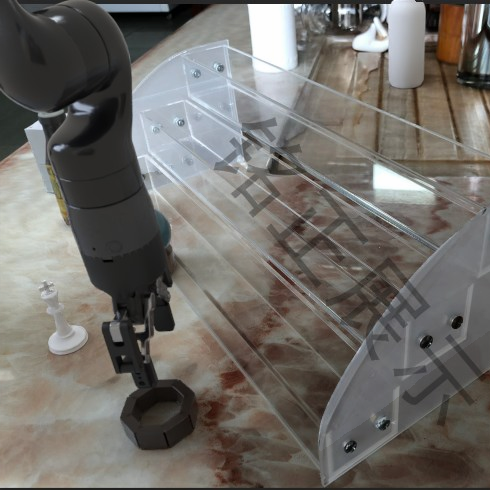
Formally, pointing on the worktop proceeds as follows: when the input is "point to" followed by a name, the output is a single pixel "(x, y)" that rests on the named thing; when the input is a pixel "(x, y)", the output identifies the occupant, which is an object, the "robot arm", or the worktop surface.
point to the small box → (39, 151)
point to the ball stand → (166, 239)
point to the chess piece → (61, 324)
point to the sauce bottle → (49, 126)
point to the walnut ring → (169, 430)
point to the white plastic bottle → (406, 43)
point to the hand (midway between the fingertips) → (157, 356)
